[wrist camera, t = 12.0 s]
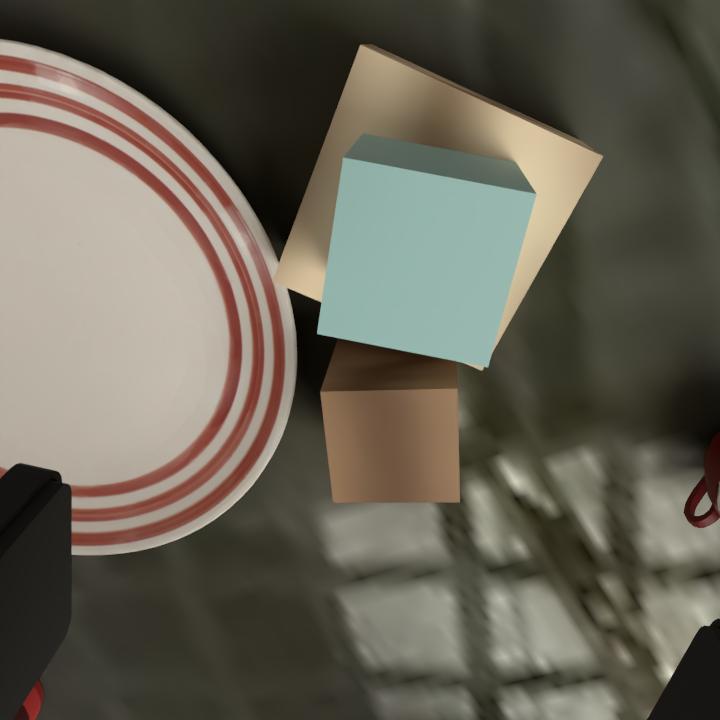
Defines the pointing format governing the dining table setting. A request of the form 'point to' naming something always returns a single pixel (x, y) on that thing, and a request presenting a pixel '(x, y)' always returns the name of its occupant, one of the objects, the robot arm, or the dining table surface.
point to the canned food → (31, 704)
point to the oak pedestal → (443, 130)
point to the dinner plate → (131, 309)
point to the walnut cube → (391, 425)
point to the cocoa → (707, 488)
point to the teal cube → (423, 248)
